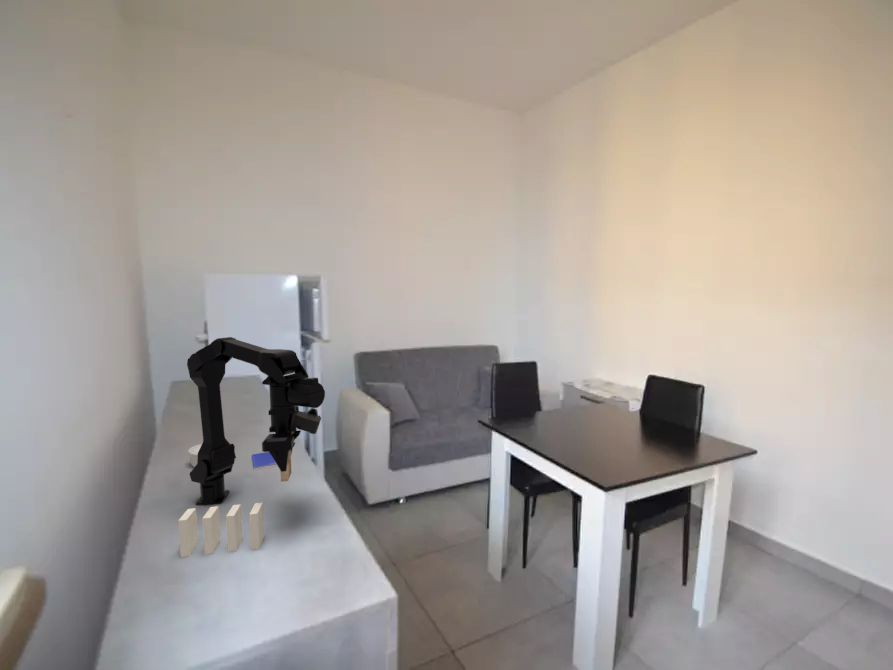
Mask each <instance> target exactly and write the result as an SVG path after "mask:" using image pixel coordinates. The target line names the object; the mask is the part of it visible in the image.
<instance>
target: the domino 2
mask: <svg viewBox="0 0 893 670" xmlns="http://www.w3.org/2000/svg"><path fill="white" fill-rule="evenodd" d="M219 509H220V508H219V505H216V506H210V507H209V509H208V510H207V511H206V513H205V514H204V515H203V517H202V532H203V533H202V534H203V537H202V538H203V549H204V551H203V552H204V555H206V556H207V555H213V554H214V552H215V551H216V550H217V547H218V546H219V544H220V542H221V541H222V540H221V526H220V525H221V524H220V510H219Z"/></svg>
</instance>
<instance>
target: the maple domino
mask: <svg viewBox="0 0 893 670" xmlns="http://www.w3.org/2000/svg"><path fill="white" fill-rule="evenodd" d="M279 471H280V482H289V480H290V477H291V475H292V473H293V472H292V454H291V450H290V451H289V455H288V462H287V469H286V471H284V472H281V470H280V469H279Z"/></svg>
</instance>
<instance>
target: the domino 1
mask: <svg viewBox="0 0 893 670" xmlns="http://www.w3.org/2000/svg"><path fill="white" fill-rule="evenodd" d="M197 520H198V519H197V508H194V507H193V508H187V509H186V511H185V512H184V513H183V514H182V516H180V518H179V519H178V520H177V522H178V524H177V525H178V536H179V550H180V551H179V552H180V558H184V557H185V558H186V557H190V556H191V554H192V553H193V551H194V549H195V548H196V547H197V546H198V544H199V535H198V521H197Z"/></svg>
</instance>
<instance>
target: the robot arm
mask: <svg viewBox="0 0 893 670" xmlns="http://www.w3.org/2000/svg"><path fill="white" fill-rule="evenodd" d="M232 359H235V360H238V361H241V362H244V363H247V364H251V365H254V366H256V367H257V368H258V370H259V371H260V372H261V373H263V374H265V376H266V378H265V379H264V380H262V382H261V384H262V385H266V386H268V387H269V405H270V406H269V407H270V408H269V410H268V416H270V427H269V432H268V433H269V434H268V435H267V436H266V437H265V438H264V440H263V441H262V442H261V449H262V450H261V451H262V453H265V452H270V454H271V455H272V457H273V459H274V460H275V462H276V464H277V465H278V467H277V468H278V469H279V471H280V470H281V472H284V471H286V469H287V462H288V455H289V451H290V450H291V455H293V454H292V453H293V448H294V447H295V445H296V442H295V440H296V439H297V438H298V437H299V436H300V434H301V432H302V431H303V432H307V433H309V434H311V435H316V434H317V432H318V429H319V426H320V423H321V421H322V417H321V415H319V414H318V409H317V408H319V407H321V406H322V404H323V402H324V400H325V397H326V390H325V389H324V386H323V385H322V384H321V383H320V382H319V378H318V377H309V374H308V373H307V371H306V369H305V367H304V366H303V364H302V363H301V361H300V359H299V358H298V356H297V353H296V352H295V351H294V350H291V349H283V348H281V349H279V348H277V349H270V348H266V347H262V346H258V345H256V344H252V343H249V342H246V341H242V340H240V339H236V338H235V337H232V336H227V337H219V338H215V340H213V341H212V342H211V343H209V344H208V345H206V346H205V347H204V346H203V347H202V348H201V349H199V350H197V351H196V352H195V353H192V354H191V355H190V356H189V358H187V361H186V362H187V363H186V367H187V369H188V374H189V378H190V379H191V380H192V382H193V383H194V384H195V386H196V387H197V391H198V399H199V400H198V401H199V411H200V412H199V413H200V419H201V420H200V421H201V429H202V443H201V444H202V445H201V447H200V449H199V452H198V461H197V465H196V466H195V467H193V469H192V470H191V471H190V473H189V478H190V480H191V482H193V483H197V484H199V488H200V490H199V492H200V497H199V498H198V500H197V501H196V502H195V505H197V506H200V505H210V504H211V505H213V504H221V503H224V501H225V499H226V498H227V497H228V495H229V494H230V490H225V489H226V487H225V475H226V474H228V473H232V470H233V466H234V464H235V461H236V458H237V456H236V452H235V451H236V450H235V447H236V446H235V444H234V443H230V442H229V441H228V440H227V439H226V435H225V427H224V415H223V405H222V396H221V395H222V394H221V382H222V381H223V379H224V376H225V375H226V364H227V363H229V362H230V361H231V360H232ZM300 407H305V408H310V409H308V411H300Z"/></svg>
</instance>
